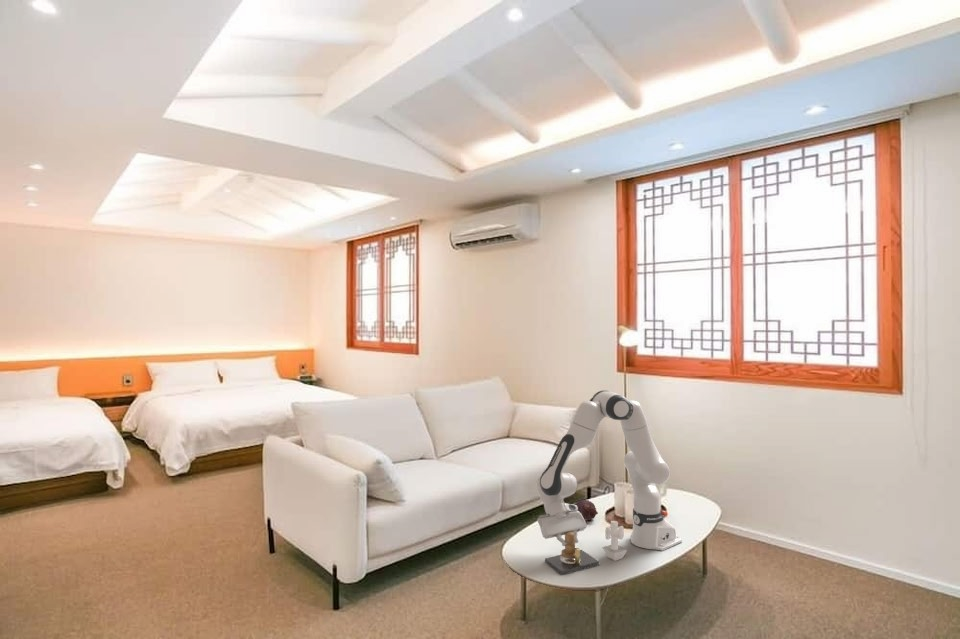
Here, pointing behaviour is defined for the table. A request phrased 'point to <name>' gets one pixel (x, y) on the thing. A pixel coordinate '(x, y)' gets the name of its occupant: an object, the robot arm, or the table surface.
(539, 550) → the table surface
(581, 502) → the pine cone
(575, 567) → the base plate
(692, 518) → the table surface
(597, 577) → the table surface
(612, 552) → the figurine
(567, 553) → the flange hub
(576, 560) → the dowel
